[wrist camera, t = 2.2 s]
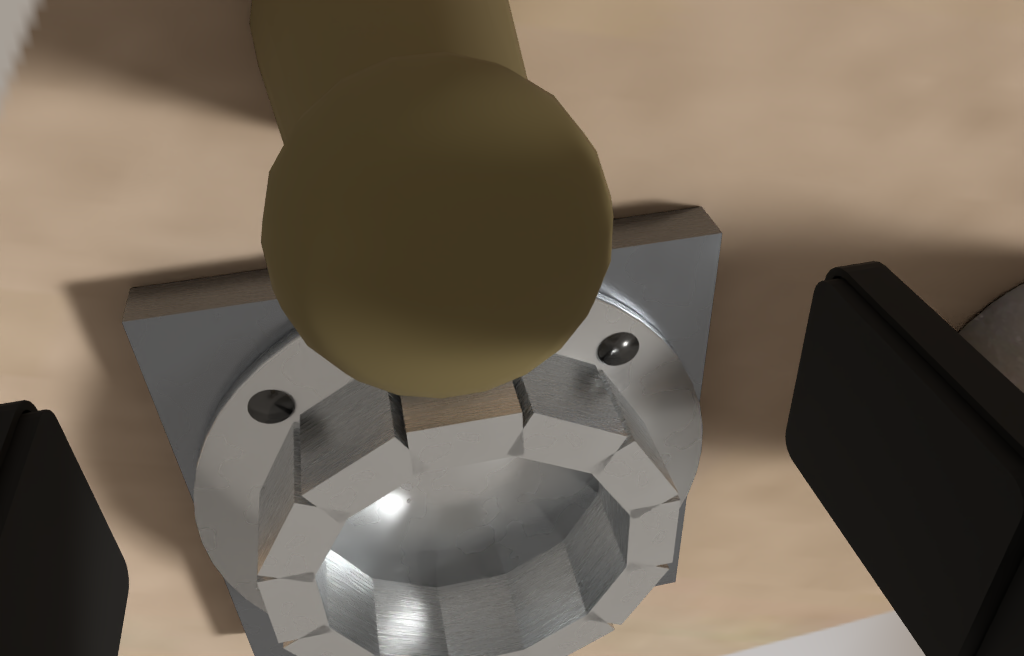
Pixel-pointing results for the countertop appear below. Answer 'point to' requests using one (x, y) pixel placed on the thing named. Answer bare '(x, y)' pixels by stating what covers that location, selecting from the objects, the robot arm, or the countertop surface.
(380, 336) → the olive knobbed peg
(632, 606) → the rosette plate
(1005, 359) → the pillar candle
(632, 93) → the countertop surface
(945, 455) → the robot arm
